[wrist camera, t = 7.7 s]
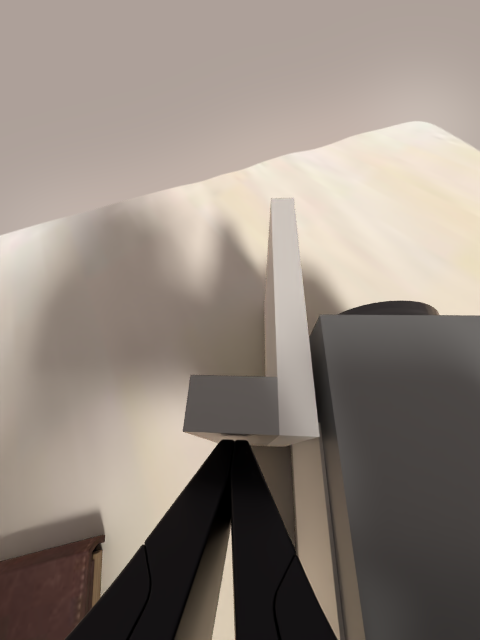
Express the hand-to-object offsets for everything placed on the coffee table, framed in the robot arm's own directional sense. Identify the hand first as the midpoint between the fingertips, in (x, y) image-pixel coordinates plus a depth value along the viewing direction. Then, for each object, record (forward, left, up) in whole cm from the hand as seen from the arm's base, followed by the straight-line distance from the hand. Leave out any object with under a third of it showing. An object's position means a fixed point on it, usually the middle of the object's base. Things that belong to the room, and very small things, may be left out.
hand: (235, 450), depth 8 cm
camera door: (+4, +4, -7) cm, 8 cm away
